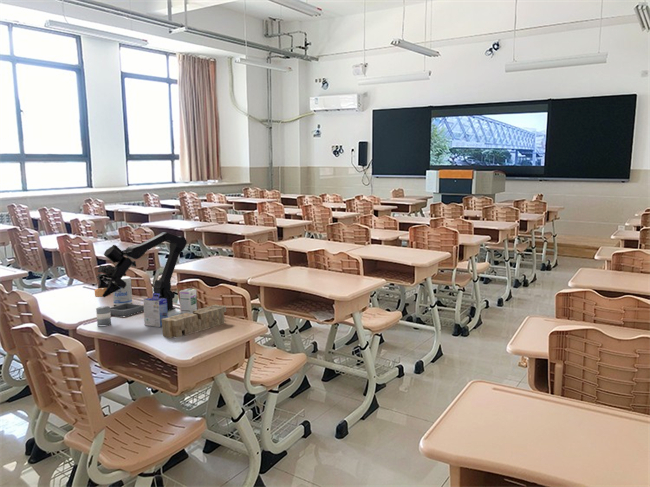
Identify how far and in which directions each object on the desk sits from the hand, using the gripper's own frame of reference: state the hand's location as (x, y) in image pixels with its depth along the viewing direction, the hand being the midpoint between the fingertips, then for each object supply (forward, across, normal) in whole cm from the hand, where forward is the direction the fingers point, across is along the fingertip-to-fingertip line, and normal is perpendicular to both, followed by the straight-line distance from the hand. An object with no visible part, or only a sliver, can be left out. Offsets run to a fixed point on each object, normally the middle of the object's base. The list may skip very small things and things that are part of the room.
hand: (99, 295), depth 227 cm
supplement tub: (-8, -31, +28) cm, 43 cm away
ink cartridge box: (-1, +22, +20) cm, 30 cm away
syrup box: (-11, +27, +31) cm, 42 cm away
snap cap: (-1, 0, +1) cm, 1 cm away
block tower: (-6, +43, +26) cm, 50 cm away
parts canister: (+9, +1, +10) cm, 14 cm away
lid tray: (-3, -11, +22) cm, 25 cm away
